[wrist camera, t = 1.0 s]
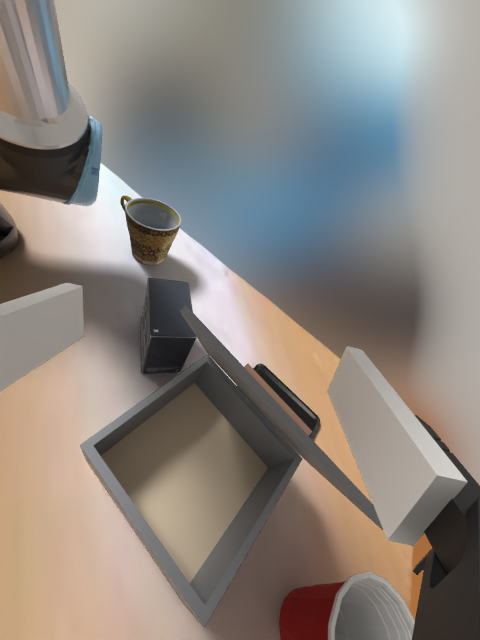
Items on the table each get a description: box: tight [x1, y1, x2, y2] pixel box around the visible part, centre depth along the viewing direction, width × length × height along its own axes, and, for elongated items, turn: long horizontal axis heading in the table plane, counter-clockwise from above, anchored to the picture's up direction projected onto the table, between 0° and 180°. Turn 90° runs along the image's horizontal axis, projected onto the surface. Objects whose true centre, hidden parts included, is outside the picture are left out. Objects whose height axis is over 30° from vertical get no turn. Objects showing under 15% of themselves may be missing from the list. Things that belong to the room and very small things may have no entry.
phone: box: [237, 364, 320, 452], centre depth 43 cm, size 8×1×15 cm
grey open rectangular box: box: [80, 354, 302, 627], centre depth 30 cm, size 18×17×8 cm
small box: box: [141, 278, 197, 374], centre depth 38 cm, size 11×6×10 cm, turn 13°
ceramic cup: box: [121, 196, 181, 265], centre depth 50 cm, size 13×10×10 cm
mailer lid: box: [180, 306, 383, 530], centre depth 25 cm, size 18×17×1 cm
